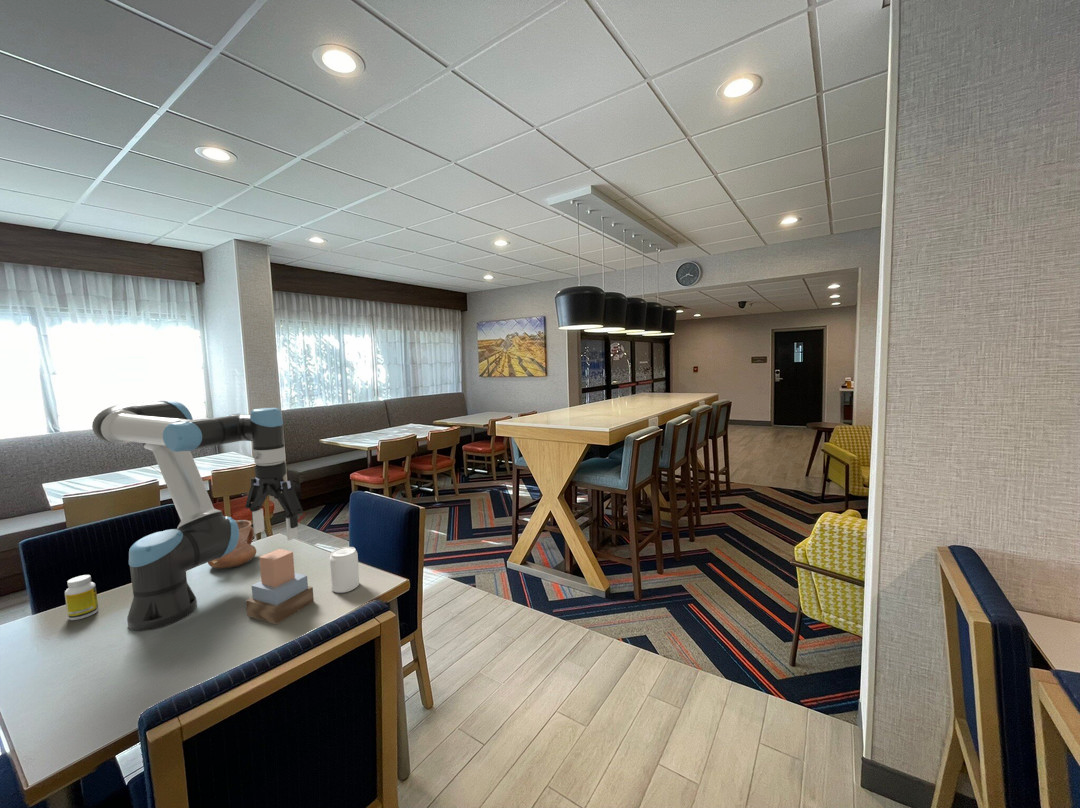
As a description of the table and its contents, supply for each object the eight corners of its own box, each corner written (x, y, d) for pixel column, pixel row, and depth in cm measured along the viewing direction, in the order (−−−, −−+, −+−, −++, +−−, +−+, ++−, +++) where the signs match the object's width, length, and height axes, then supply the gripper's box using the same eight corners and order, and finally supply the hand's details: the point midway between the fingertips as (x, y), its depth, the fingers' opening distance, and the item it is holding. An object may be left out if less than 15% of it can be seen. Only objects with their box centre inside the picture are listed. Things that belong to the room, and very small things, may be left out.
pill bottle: (102, 611, 128) (98, 575, 127) (73, 623, 123) (68, 585, 122) (92, 607, 131) (88, 571, 130) (63, 618, 125) (59, 581, 124)
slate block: (252, 598, 125) (251, 585, 125) (285, 582, 134) (284, 570, 134) (276, 605, 121) (275, 591, 121) (308, 588, 130) (307, 575, 130)
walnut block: (247, 617, 125) (245, 600, 124) (285, 596, 136) (284, 580, 135) (276, 625, 120) (275, 608, 120) (313, 603, 131) (312, 587, 131)
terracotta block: (261, 583, 126) (259, 556, 125) (281, 574, 131) (279, 548, 130) (275, 587, 123) (273, 560, 122) (294, 578, 129) (292, 551, 128)
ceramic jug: (229, 576, 149) (226, 535, 148) (193, 572, 152) (191, 532, 150) (271, 554, 166) (269, 518, 165) (238, 551, 169) (236, 515, 168)
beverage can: (349, 595, 135) (346, 558, 134) (326, 593, 136) (323, 556, 135) (364, 582, 143) (362, 546, 141) (342, 580, 144) (340, 545, 143)
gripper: (227, 462, 125) (233, 534, 127) (289, 469, 115) (295, 546, 117) (253, 456, 132) (258, 525, 134) (313, 463, 122) (318, 536, 124)
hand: (275, 535), depth 126 cm, fingers open, 13 cm apart
